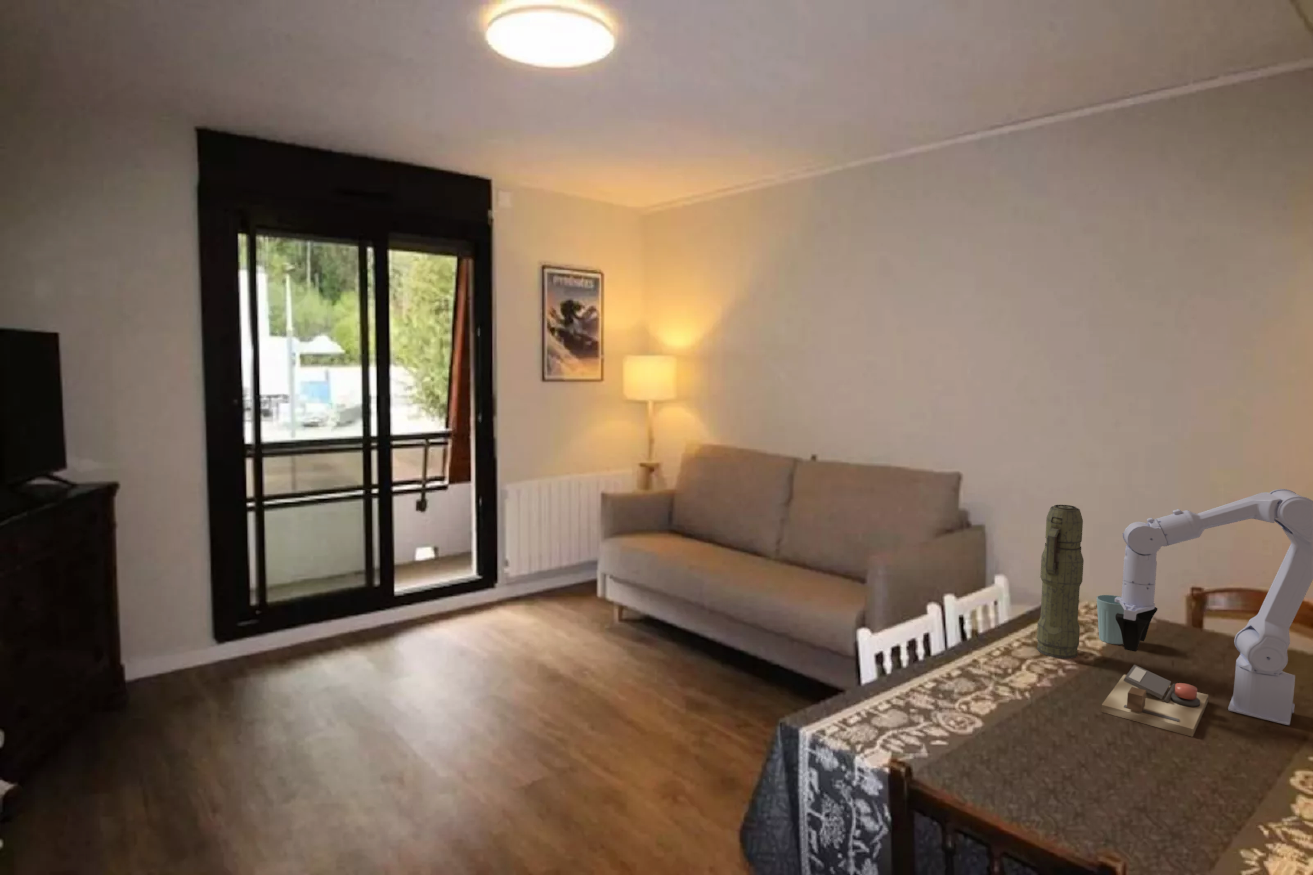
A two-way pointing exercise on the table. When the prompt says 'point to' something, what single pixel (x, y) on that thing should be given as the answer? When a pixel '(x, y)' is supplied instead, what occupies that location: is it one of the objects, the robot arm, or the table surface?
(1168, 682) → the paddle switch
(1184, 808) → the table surface
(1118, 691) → the control panel
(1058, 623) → the thermos
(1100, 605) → the cup
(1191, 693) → the push button
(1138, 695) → the slider knob
